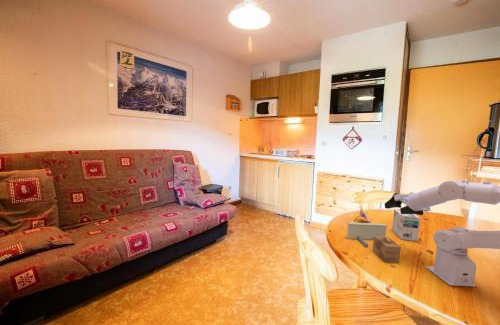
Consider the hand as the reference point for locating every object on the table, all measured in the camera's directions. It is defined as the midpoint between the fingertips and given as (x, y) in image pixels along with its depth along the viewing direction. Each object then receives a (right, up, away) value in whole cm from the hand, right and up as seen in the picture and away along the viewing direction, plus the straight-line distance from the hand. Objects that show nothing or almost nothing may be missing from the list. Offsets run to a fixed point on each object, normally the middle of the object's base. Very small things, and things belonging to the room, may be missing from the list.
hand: (393, 208), depth 90 cm
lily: (+1, -13, +27) cm, 29 cm away
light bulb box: (+13, -15, +13) cm, 23 cm away
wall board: (-7, -15, +4) cm, 17 cm away
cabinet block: (-7, -16, -7) cm, 19 cm away
